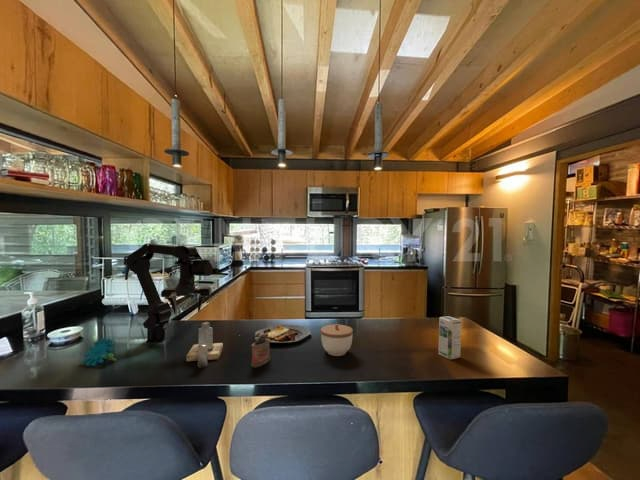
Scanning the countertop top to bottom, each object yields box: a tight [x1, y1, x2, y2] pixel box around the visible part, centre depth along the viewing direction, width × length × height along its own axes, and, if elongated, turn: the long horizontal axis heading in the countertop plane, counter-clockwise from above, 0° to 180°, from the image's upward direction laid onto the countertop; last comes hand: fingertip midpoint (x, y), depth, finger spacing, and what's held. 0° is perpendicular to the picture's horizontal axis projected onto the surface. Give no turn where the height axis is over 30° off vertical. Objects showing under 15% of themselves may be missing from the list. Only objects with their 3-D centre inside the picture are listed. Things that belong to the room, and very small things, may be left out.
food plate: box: [254, 324, 312, 344], centre depth 132 cm, size 25×23×4 cm
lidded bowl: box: [320, 323, 354, 357], centre depth 114 cm, size 13×13×11 cm
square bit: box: [198, 321, 214, 352], centre depth 112 cm, size 4×4×12 cm
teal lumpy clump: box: [82, 337, 117, 367], centre depth 105 cm, size 11×6×10 cm
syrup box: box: [438, 315, 462, 360], centre depth 112 cm, size 6×6×14 cm
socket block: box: [185, 342, 224, 362], centre depth 112 cm, size 11×11×2 cm
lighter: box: [251, 333, 271, 368], centre depth 104 cm, size 8×3×10 cm, turn 148°
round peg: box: [197, 344, 209, 368], centre depth 102 cm, size 3×3×7 cm
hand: (187, 312), depth 123 cm, fingers open, 9 cm apart
